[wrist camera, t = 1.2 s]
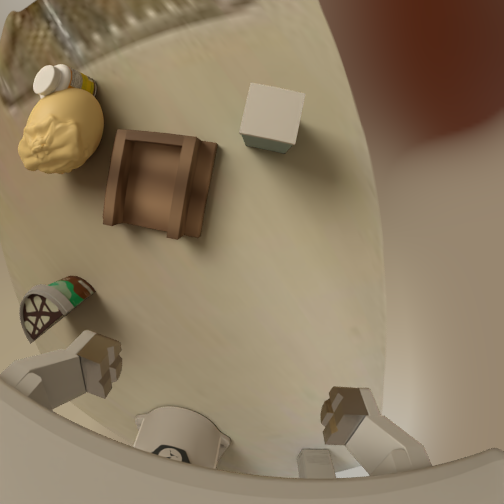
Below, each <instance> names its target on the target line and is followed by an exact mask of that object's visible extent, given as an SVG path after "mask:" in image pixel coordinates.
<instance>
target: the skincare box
mask: <svg viewBox="0 0 504 504" xmlns="http://www.w3.org/2000/svg"><path fill="white" fill-rule="evenodd" d="M297 463H298V470H299V477H300V478H306V479H330V478H336V476H335V472H334V468H333V464H332V460H331V456H330V452H329V450H328V449H302V451H301V452H300V454H299V456H298V458H297Z"/></svg>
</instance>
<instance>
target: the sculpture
mask: <svg viewBox="0 0 504 504" xmlns="http://www.w3.org/2000/svg"><path fill="white" fill-rule="evenodd" d="M103 129H104V117H103V112H102V109H101V106H100V104H99V102H98V101H97V99H96V98H95V97H94V96H93V95H92V94H91V93H89V92H87V91H85V90H83V89H79V88H68V89H64V90H60V91H55V92H52V93H51V94H49V95H47V96H45V97H43V98H42V99H41V100H40V101H39V102H38V103H37V104H36V106H35V107H34V108H33V110H32V112H31V114H30V116H29V118H28V121H27V125H26V127H25V128H24V134H23V138H22V140H21V141H20V143H19V146H18V152H19V155H20V158H21V160H22V161H23V163H24V166H25V168H26V169H28V170H31V171H36V170H40V171H41V172H45V173H47V174H52V173H58V174H63V173H65V172H67V173H69V172H71V171H72V169H76V168H78V167H80V166H81V165H83V164H84V163H85V162H86V160H87V159H88V158H89V157H90V156H91V155H92V154H93V153H94V152H95V150H96V149H97V147H98V145H99V143H100V141H101V138H102V134H103Z"/></svg>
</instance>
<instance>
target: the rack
mask: <svg viewBox="0 0 504 504" xmlns="http://www.w3.org/2000/svg"><path fill="white" fill-rule="evenodd" d="M217 146H218V144H217V143H213V142H206V141H201V140H200V139H198V138H197V137H192V136H184V135H176V134H168V133H158V132H148V131H137V130H123V129H118V130H117V132H116V135H115V140H114V145H113V150H112V155H111V161H110V167H109V173H108V180H107V186H106V194H105V202H104V211H103V224H105V225H110V226H113V225H116V224H119V223H127V224H132V225H137V226H142V227H147V228H152V229H157V230H162V231H167V238H172V239H177V240H178V239H179V238H181V237H182V236H183V235H186V236H191V237H196V238H198V237H200V235H201V229H202V224H203V218H204V212H205V207H206V201H207V196H208V191H209V185H210V180H211V175H212V170H213V165H214V160H215V156H216V151H217Z"/></svg>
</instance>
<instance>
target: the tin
mask: <svg viewBox="0 0 504 504" xmlns="http://www.w3.org/2000/svg"><path fill="white" fill-rule="evenodd" d="M304 98H305V93H301V92H296V91H292V90H287V89H283V88H278V87H273V86H268V85H263V84H257V83H251V84H250V88H249V92H248V96H247V101H246V105H245V109H244V114H243V118H242V123H241V127H240V132H239V133H240V134H242V137H243V139H244V142H245V145H246V146H250V147H255V148H260V149H265V150H270V151H275V152H279V153H284V154H285V153H286V152H287V151H288V150H289V148H290V147H291V146H292V145H295V143H296V138H297V133H298V128H299V123H300V118H301V113H302V108H303V103H304Z"/></svg>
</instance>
